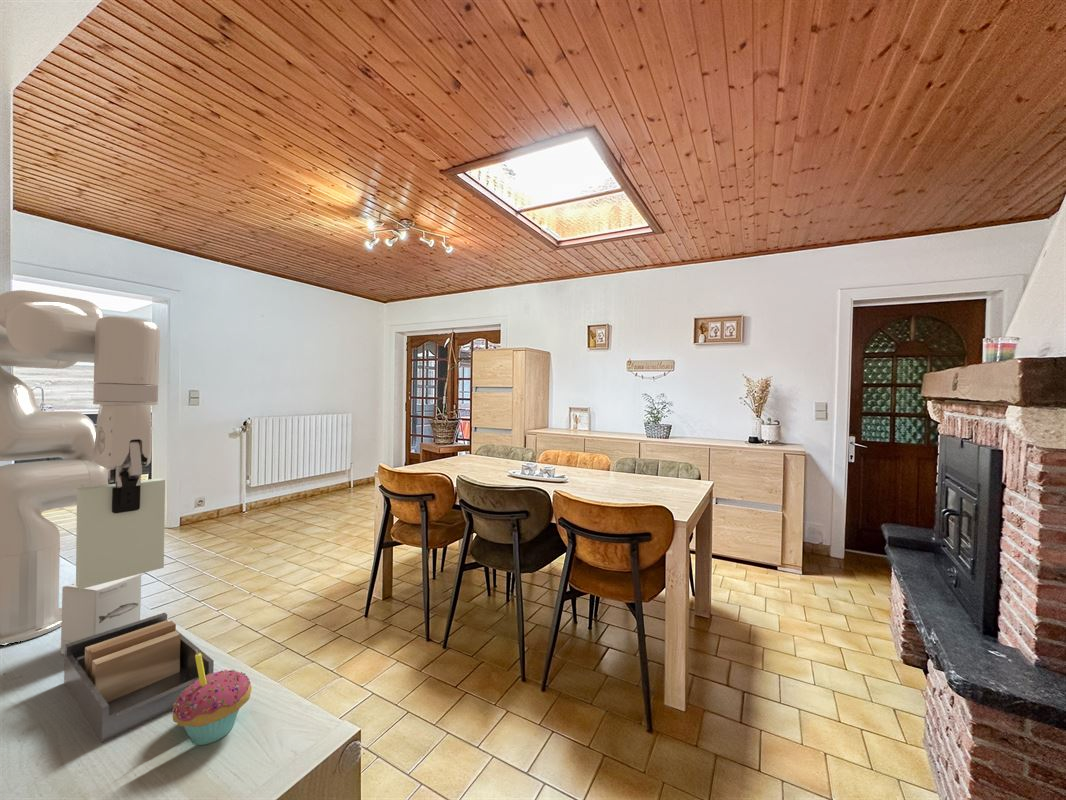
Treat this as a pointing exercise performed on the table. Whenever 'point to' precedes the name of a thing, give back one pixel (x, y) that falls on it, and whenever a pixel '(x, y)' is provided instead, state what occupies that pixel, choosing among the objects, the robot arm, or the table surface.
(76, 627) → the supplement box
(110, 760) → the table surface
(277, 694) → the table surface
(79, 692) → the bin
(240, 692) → the cupcake
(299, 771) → the table surface
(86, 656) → the offcuts
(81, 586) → the grey flat panel
